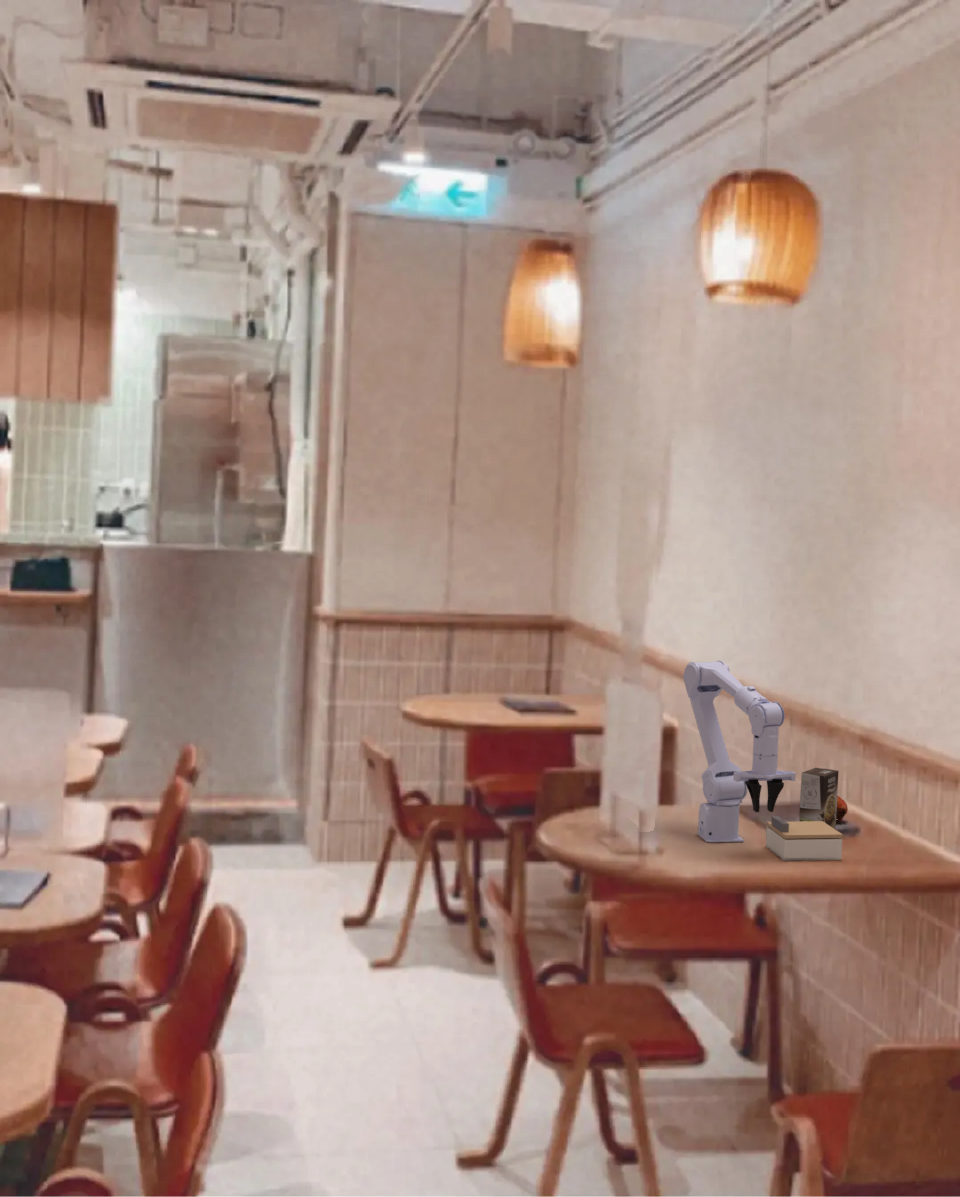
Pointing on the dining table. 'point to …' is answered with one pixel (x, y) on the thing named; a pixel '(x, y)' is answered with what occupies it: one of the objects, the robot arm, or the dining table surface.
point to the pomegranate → (841, 808)
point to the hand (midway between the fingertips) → (763, 811)
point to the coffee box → (819, 796)
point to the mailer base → (803, 847)
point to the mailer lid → (803, 829)
